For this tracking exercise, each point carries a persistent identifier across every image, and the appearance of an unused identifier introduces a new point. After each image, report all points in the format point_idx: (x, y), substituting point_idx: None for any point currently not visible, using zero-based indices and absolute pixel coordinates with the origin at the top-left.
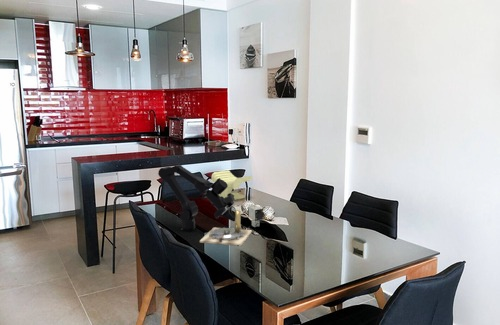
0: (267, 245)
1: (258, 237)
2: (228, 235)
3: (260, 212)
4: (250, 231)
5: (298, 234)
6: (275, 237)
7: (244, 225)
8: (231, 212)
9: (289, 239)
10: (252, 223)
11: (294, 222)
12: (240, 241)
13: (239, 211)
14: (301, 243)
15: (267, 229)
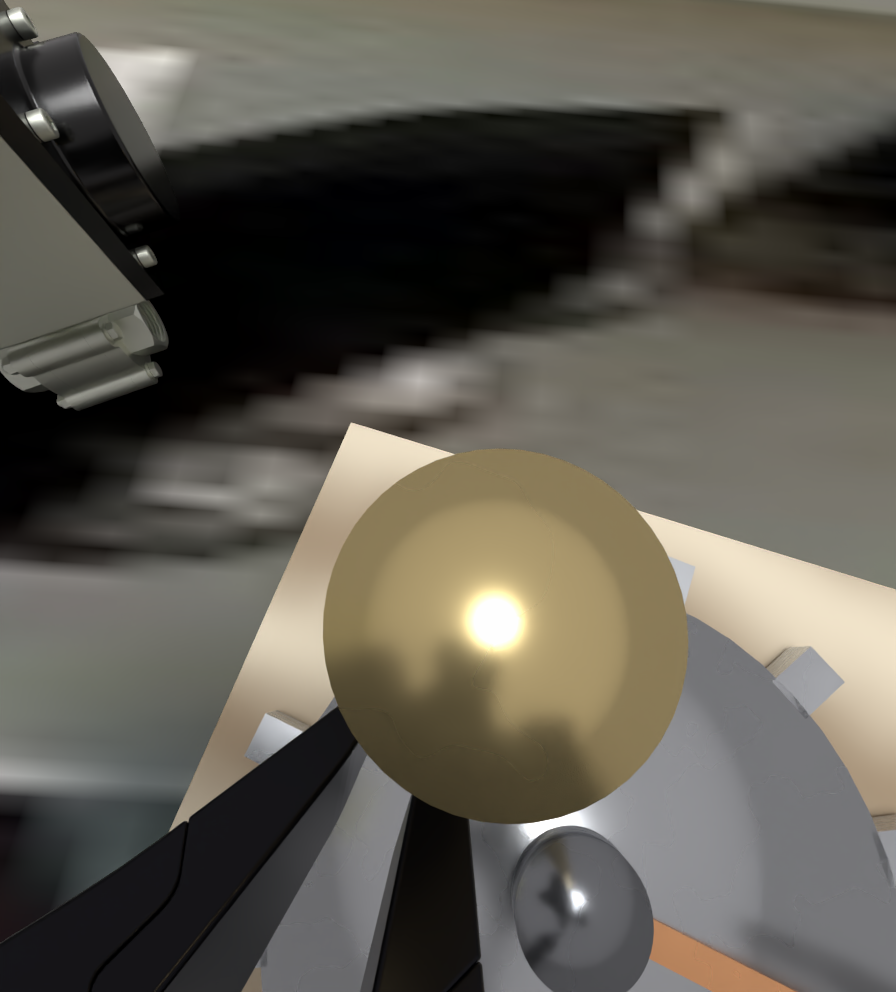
0: (886, 300)
1: (592, 371)
2: (735, 866)
3: (91, 63)
4: (407, 444)
5: (509, 14)
6: (595, 199)
7: (31, 512)
8: (173, 982)
9: (661, 92)
10: (71, 384)
11: (126, 3)
12: (890, 632)
13: (557, 506)
14: (775, 22)
15: (292, 248)
